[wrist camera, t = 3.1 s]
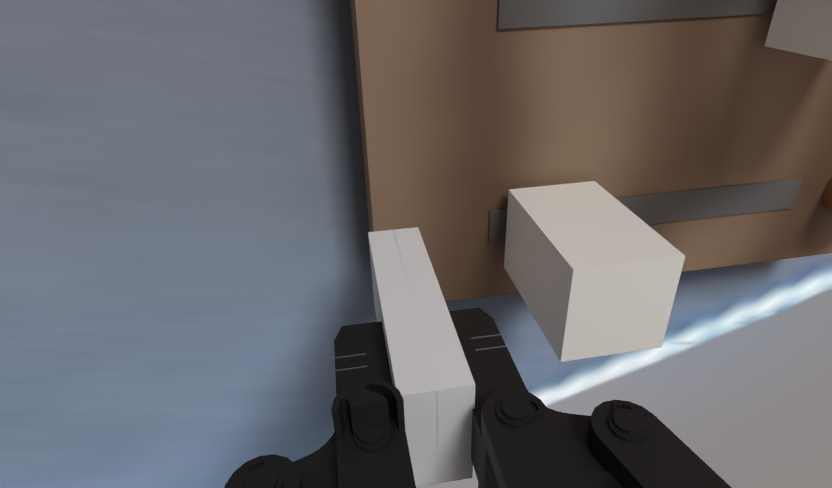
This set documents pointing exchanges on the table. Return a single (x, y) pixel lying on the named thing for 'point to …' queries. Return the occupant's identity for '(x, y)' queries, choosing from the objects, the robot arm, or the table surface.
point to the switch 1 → (589, 270)
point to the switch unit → (591, 125)
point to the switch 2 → (802, 27)
